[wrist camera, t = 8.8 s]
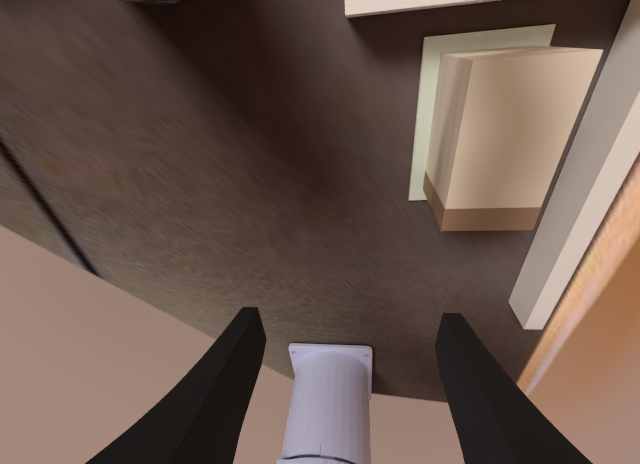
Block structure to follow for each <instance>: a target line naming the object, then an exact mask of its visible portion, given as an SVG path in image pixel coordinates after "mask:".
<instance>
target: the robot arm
mask: <svg viewBox="0 0 640 464" xmlns="http://www.w3.org/2000/svg"><path fill="white" fill-rule="evenodd" d="M265 344H266V335H265V332H264V328H263V325H262V321H261V318H260V314H259V311H258V307H243V308H242V309H241V310H240V311H239V312H238V314H237V315H236V316H235V318H234V319H233V320H232V321H231V323H230V324H229V325H228V326H227V328H226V329H225V330H224V331H223V333H222V334H221V335H220V336H219V338H218V339H217V340H216V341H215V342H214V344H213V345H212V346H211V347H210V348H209V350H208V351H207V352H206V353H205V354H204V355H203V357H202V358H201V359H200V360H199V361H198V362H197V363H196V364H195V365H194V367H193V368H192V369H191V370H190V371H189V372H188V373H187V374H186V376H184V377H183V378H182V380H181V381H180V382H179V383H178V384H177V385H176V386H175V387H174V388H173V389H172V390H171V391H170V392H169V393H168V394H167V395H166V396H164V398H162V399H161V400H160V401H159V402H158V403H157V404H156V405H155V406H154V407H153V408H152V409H150V410H149V411H148V412H147V413H146V414H145V415H144V416H143V417H142V418H141V419H139V420H138V421H137V422H136V423H135V424H134V425H133V426H131V427H130V428H129V429H128V430H127V431H125V432H124V433H123V434H122V435H120V436H119V437H118V438H117V439H115V440H114V441H113V442H112V443H110V444H109V445H108V446H107V447H105V448H104V449H103V450H102V451H101V452H99V453H98V454H97V455H95V456H94V457H93V458H92V459H90V460H89V461H88V462H86V463H85V464H233V461H234V456H235V452H236V448H237V443H238V438H239V435H240V431H241V428H242V424H243V421H244V418H245V414H246V411H247V408H248V405H249V402H250V398H251V396H252V393H253V390H254V387H255V383H256V380H257V377H258V374H259V370H260V368H261V364H262V360H263V355H264V350H265ZM435 350H436V356H437V362H438V367H439V372H440V376H441V380H442V383H443V387H444V390H445V394H446V397H447V401H448V404H449V407H450V411H451V413H452V417H453V421H454V424H455V427H456V431H457V434H458V438H459V441H460V445H461V449H462V452H463V457H464V462H465V464H593V463H591V462H590V461H589V460H588V459H587V458H586V457H585V456H584V455H583V454H582V453H581V452H580V451H579V450H578V449H577V448H576V447H574V445H572V444H571V443H570V442H569V441H568V440H567V439H566V438H565V437H564V436H563V435H562V434H561V433H560V432H559V431H558V430H557V429H556V428H555V427H554V426H553V424H552V423H551V422H549V420H547V418H546V417H545V416H544V415H543V414H542V413H541V412H540V411H539V410H538V409H537V408H536V407H535V406H534V404H533V403H532V402H531V401H530V400H529V399H528V398H527V397H526V395H525V394H524V393H523V392H522V391H521V390H520V389H519V387H518V386H517V385H516V384H515V383H514V382H513V381H512V379H511V378H510V377H509V376H508V375H507V373H506V372H505V371H504V370H503V368H502V367H501V366H500V365H499V363H498V362H497V361H496V360H495V359H494V357H493V356H492V355H491V353H490V352H489V351H488V350H487V348H486V347H485V346H484V344H483V343H482V342H481V340H480V339H479V338H478V336H477V335H476V334H475V332H474V331H473V330H472V328H471V327H470V325H469V324H468V323H467V321H466V320H465V318H464V317H463V316H462V315H461V314H460V313H443V315H442V319H441V323H440V327H439V331H438V335H437V340H436V344H435ZM289 353H290V357H291V361H292V365H293V369H294V373H295V380H294V386H293V392H292V398H291V404H290V409H289V414H288V420H287V426H286V432H285V437H284V443H283V449H282V454H281V459H277V462H276V464H371V450H370V423H369V400H370V399H371V384H372V348H371V347H369V346H357V345H331V344H304V343H291V344H290V345H289Z"/></svg>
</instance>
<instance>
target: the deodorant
mask: <svg viewBox="0 0 640 464" xmlns="http://www.w3.org/2000/svg"><path fill="white" fill-rule="evenodd" d="M120 1H127V2H134V3H142V4H149V5H157V6H167V5H172V4H177V3H179V2H180V1H182V0H120Z"/></svg>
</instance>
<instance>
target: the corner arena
mask: <svg viewBox="0 0 640 464" xmlns="http://www.w3.org/2000/svg"><path fill="white" fill-rule="evenodd" d="M492 1H501V0H345V16H346V17H347V18H350V17H359V16H368V15H377V14H386V13H395V12H403V11H412V10H421V9H430V8H439V7H448V6H457V5H465V4H474V3H483V2H492ZM555 26H556V24H550V25H540V26H530V27H520V28H510V29H500V30H490V31H480V32H470V33H461V34H451V35H441V36H431V37H424V42H423V52H422V63H421V73H420V83H419V94H418V104H417V115H416V125H415V136H414V146H413V156H412V167H411V177H410V188H409V198H408V199H409V200H427V198H426V196H425V193H424V191H423V183H424V175H425V171H426V163H427V156H428V148H429V141H430V133H431V125H432V118H433V110H434V103H435V95H436V87H437V80H438V72H439V64H440V57H441V53H450V52H462V51H473V50H485V49H497V48H508V47H520V46H532V45H536V46H549V45H550V42H551V39H552V35H553V32H554V29H555ZM639 151H640V0H631V1H630V3H629V6H628V8H627V11H626V13H625V15H624V18H623V20H622V23H621V25H620V28H619V30H618V33H617V35H616V38H615V40H614V43H613V45H612V47H611V50H610V52H609V55H608V57H607V60H606V62H605V65H604V67H603V70H602V72H601V75H600V77H599V79H598V82H597V84H596V87H595V89H594V92H593V94H592V97H591V99H590V102H589V104H588V107H587V109H586V111H585V114H584V116H583V119H582V121H581V124H580V126H579V129H578V131H577V134H576V136H575V139H574V141H573V143H572V146H571V148H570V151H569V153H568V156H567V158H566V161H565V163H564V166H563V168H562V171H561V173H560V175H559V178H558V180H557V183H556V185H555V188H554V190H553V193H552V195H551V198H550V200H549V203H548V205H547V207H546V210H545V212H544V215H543V217H542V220H541V222H540V225H539V227H538V230H537V232H536V235H535V237H534V239H533V242H532V244H531V247H530V249H529V252H528V254H527V257H526V259H525V262H524V264H523V267H522V269H521V271H520V274H519V276H518V279H517V281H516V284H515V286H514V289H513V291H512V294H511V296H510V299H509V301H508V302H509V304H510V306H511V308H512V309H513V311H514V313H515V315H516V316H517V318H518V320H519V322H520V324H521V325H522V327H523V329H543V327H544V325H545V324H546V322H547V320H548V318H549V316H550V314H551V313H552V311H553V309H554V307H555V305H556V303H557V302H558V300H559V298H560V296H561V294H562V292H563V291H564V289H565V287H566V285H567V283H568V281H569V280H570V278H571V276H572V274H573V272H574V270H575V269H576V267H577V265H578V263H579V261H580V259H581V258H582V256H583V254H584V252H585V250H586V248H587V247H588V245H589V243H590V241H591V239H592V237H593V236H594V234H595V232H596V230H597V228H598V226H599V225H600V223H601V221H602V219H603V217H604V215H605V214H606V212H607V210H608V208H609V206H610V204H611V203H612V201H613V199H614V197H615V195H616V193H617V192H618V190H619V188H620V186H621V184H622V182H623V181H624V179H625V177H626V175H627V173H628V171H629V170H630V168H631V166H632V164H633V162H634V160H635V159H636V157H637V155H638V153H639Z"/></svg>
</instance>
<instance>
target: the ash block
mask: <svg viewBox="0 0 640 464" xmlns="http://www.w3.org/2000/svg"><path fill="white" fill-rule="evenodd" d="M602 52H603V50H599V49H583V48H567V47H551V46H536V45H532V46H520V47H508V48H497V49H485V50H473V51H462V52H450V53H441V57H440V64H439V72H438V80H437V87H436V95H435V103H434V110H433V118H432V125H431V133H430V141H429V148H428V156H427V163H426V171H425V175H424V183H423V191H424V193H425V196H426V198H427V200H428V203H429V205H430V207H431V210H432V212H433V214H434V216H435V219H436V221H437V223H438V226H439V228H440V230H441V231H496V230H533V228H534V225H535V223H536V220H537V218H538V215H539V213H540V210H541V208H542V207H541V206H542V203H543V200H544V198H545V195H546V193H547V190H548V188H549V185H550V183H551V180H552V178H553V175H554V173H555V170H556V168H557V165H558V163H559V160H560V158H561V155H562V153H563V150H564V148H565V145H566V143H567V140H568V138H569V135H570V133H571V130H572V128H573V125H574V123H575V120H576V118H577V115H578V113H579V110H580V108H581V105H582V103H583V100H584V98H585V95H586V93H587V90H588V87H589V85H590V82H591V80H592V77H593V75H594V72H595V70H596V67H597V65H598V62H599V60H600V57H601V55H602Z"/></svg>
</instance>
